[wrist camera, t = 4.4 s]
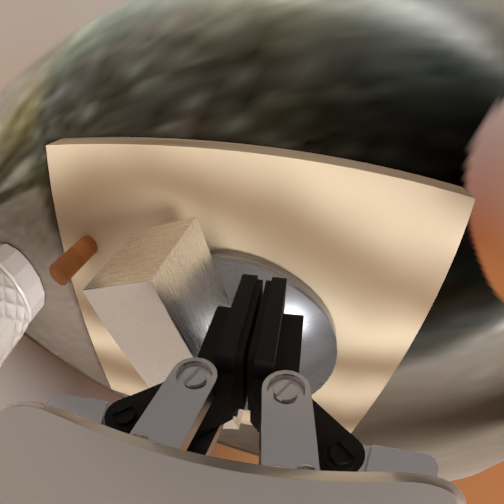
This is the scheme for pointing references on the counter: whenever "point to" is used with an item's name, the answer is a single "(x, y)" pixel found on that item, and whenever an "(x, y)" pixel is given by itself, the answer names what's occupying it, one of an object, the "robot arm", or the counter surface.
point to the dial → (193, 302)
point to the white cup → (16, 297)
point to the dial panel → (269, 238)
